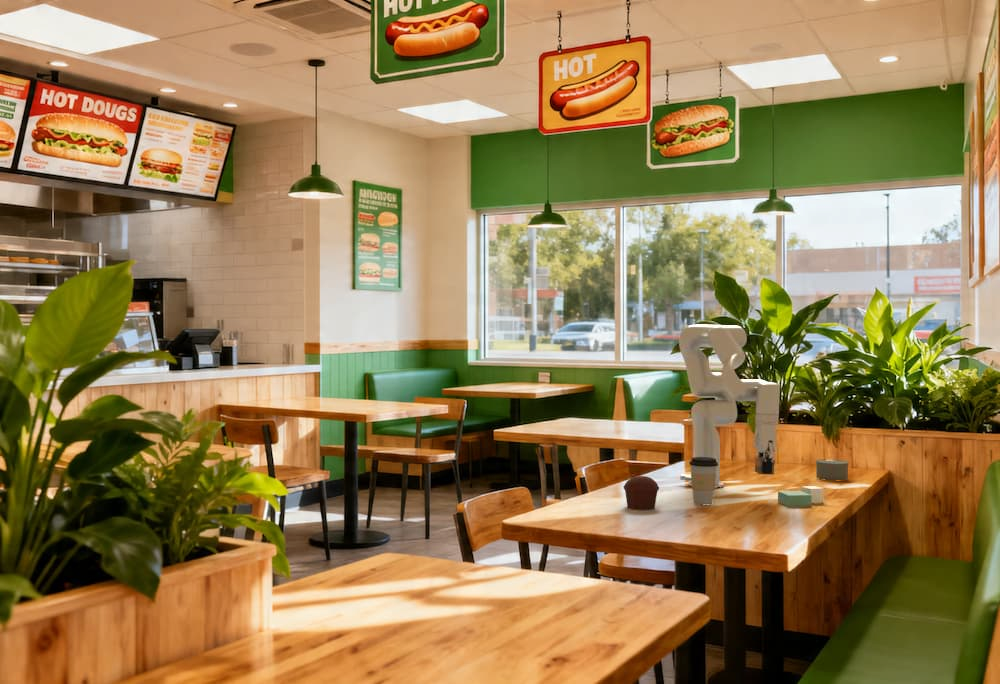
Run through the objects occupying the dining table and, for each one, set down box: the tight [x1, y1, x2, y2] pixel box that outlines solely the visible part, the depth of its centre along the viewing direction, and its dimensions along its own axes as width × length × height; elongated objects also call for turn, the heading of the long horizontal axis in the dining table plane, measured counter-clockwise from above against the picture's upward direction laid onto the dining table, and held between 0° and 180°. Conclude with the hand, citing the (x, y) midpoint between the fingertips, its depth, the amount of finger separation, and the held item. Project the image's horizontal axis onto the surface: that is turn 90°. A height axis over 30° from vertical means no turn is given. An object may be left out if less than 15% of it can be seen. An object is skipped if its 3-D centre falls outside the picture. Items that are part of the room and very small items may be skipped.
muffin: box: [623, 475, 660, 511], centre depth 304 cm, size 12×11×10 cm
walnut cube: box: [754, 456, 776, 476], centre depth 319 cm, size 5×5×5 cm
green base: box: [777, 490, 812, 508], centre depth 312 cm, size 8×8×4 cm
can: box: [815, 458, 849, 481], centre depth 367 cm, size 12×12×7 cm
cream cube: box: [801, 485, 824, 504], centre depth 316 cm, size 5×5×5 cm
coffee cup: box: [689, 456, 718, 505], centre depth 311 cm, size 9×9×15 cm
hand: (764, 471), depth 319 cm, fingers closed on walnut cube, 5 cm apart
